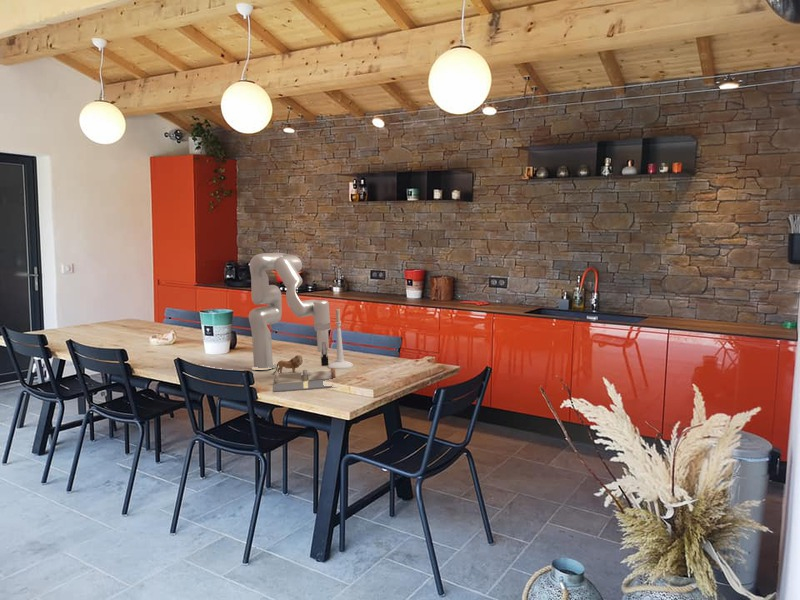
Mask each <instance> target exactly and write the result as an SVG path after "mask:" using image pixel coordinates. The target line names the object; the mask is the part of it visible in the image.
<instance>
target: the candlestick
mask: <svg viewBox="0 0 800 600" xmlns="http://www.w3.org/2000/svg"><path fill="white" fill-rule="evenodd" d="M335 316H336V317H335V319H336V321H335V322H334V324H335V326H336V328H337V329H336V360H335V361H333V362H331V363H328V364H329V365H328V366H327V367H328V369H329V370H331V368H335V370H346V369H350V368H353V367H354V364H353V363H352V362H350V361H348V360H345V358H344V357H345V356H344V351H343V350H344V348H343V341H342V340H343V339H342V329H341V327H342V321H341V309H340V308H336V309H335Z"/></svg>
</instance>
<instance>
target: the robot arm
mask: <svg viewBox="0 0 800 600" xmlns="http://www.w3.org/2000/svg"><path fill="white" fill-rule="evenodd" d="M302 268H303V263H302V261H301V259H300V258H299V257H298V256H296V255H293V254H288V253H283V252H263V253H258V254H256V255H253V257H251V259H250V261H249V272H250V279H251V280H250V281H251V285H250V286H251V290H250V291H251V302H252V303H253V304H254V305H255V306H257V305H258V306H259V307H255V308H252V309H251V310H250V311H249V313H248V321H249V325H250V330H251V339H252V355H253V366H254V367H258V368H268V367H269V368H273V367H277V364H276V363H275V364H274V360H273V345H272V333H271V331H270V328H269V327H268V325H275V324H277V323H279V322H280V321H281V319H282V312H283V309H282V308H283V307H282V305H283V304H282V300H283V299H282V291H281V288H279V287H278V286H277V285H275V284H270V282H269V275H268V273H267V271H274V270H275V271H276V274H278V277H279V278H280V279H281V281H282V283H283V284H284V286H285V288H286V293H285V300H286V303H287V306H288V307H289V309H290V311H291V312H292V313H293V314H294V316H296V317H298V318H305V317H306V318H307V317H311V316H313V327H314V328H313V329H314V332H316V342H317V344H316V345H317V351H318V353H320V354H321V355H320V356H321V357H320V362H321V366H322V367H326V366H327V367H328V365H329V364H330V363H329V356H328V352H329V347H330V338H329V331H330V330H331V315H330V303H329V301H328V300H327V299H326V300H324V299H323V300H319V299H306V300H300V298H299V296H298V294H297V289H298V288H300V286H301V285H302V284H303V278H302V277H301V275H300V273H299V272H301V270H302ZM262 305H263V306H262ZM264 305H266V306H264ZM273 364H274V365H273Z"/></svg>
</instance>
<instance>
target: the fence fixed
mask: <svg viewBox="0 0 800 600" xmlns="http://www.w3.org/2000/svg"><path fill="white" fill-rule="evenodd" d="M279 372H280V371H279ZM279 372H277V371H276V372H275V371H274V372H273V373H274V375H273V376H274V383H286V382H299V381H302V379H301V375H303V381H308V376H307V375H308V369H303V370H302V372H296V373H293V372H290V373H289V372H287V373H283V374H281V373H279Z"/></svg>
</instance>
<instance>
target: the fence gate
mask: <svg viewBox="0 0 800 600" xmlns="http://www.w3.org/2000/svg"><path fill="white" fill-rule="evenodd" d="M307 375H308V378H309V380H317V379H330V378H332V379H333V378H336V369H335V368H331V369H329V370H317V371H307ZM336 379H337V378H336Z"/></svg>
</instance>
